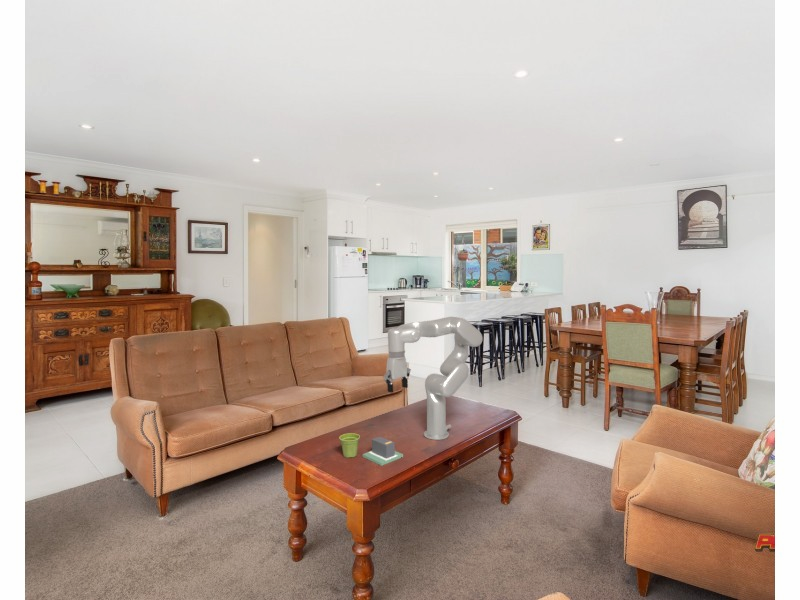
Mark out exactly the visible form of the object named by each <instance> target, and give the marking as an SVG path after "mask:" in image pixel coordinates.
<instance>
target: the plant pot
mask: <svg viewBox="0 0 800 600" xmlns="http://www.w3.org/2000/svg"><path fill="white" fill-rule="evenodd" d="M338 438H339V440H340V444H341V449H342V454H343V457H344V458H347V459H348V458H355V457H357V455H358V448H359V446H358V445H359V441H360V438H361V436H360V434H357V433H354V432H353V433H352V432H350V433H349V432H348V433H343V434H341V435H340V436H339V437H338Z"/></svg>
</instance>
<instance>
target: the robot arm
mask: <svg viewBox="0 0 800 600" xmlns="http://www.w3.org/2000/svg"><path fill="white" fill-rule="evenodd" d="M451 334H452V335H453V334H454V337H453V339H454V348H453V350H452V352H451V353H450V354H449V355H448V356H447V357H446V358H445V359H444V361H443V362H442V363H441V365H440V368H439V372H440V373H441V374H439V373H430V374H428V375H427V377H426V378H425V381H424V388H425V393H426V394H425V395H426V430H425V431H424V432H423V436H424V438H426V439H429V440H433V441H439V440H440V441H441V440H445V439H448V438H449V435H450V433H449V431H448V429H451V428H452V425H451V423H449V424H446V422H447V417H446V416H447V413H446V412H447V411H446V409H447V407H446V406H447V405H446V404H447V400H446V398H449V397H452V396H453V395H455V393H456V392H457V391H458V390H459V388H461V386H462V385H463V384H464V382H465V381H466V380H467V379H468V377H469V373H470V370H469V369H470V368H469V366H468V364H466V362H467V360H468V358H469V356H470V355H469V347H473V348H476V347H479V346H480V345H481V344H482V342H483V341H484V340H483V334H482V333H481V332H480V330H478V329H477V327H475V326H474V325H473V324H472V323H471V322H469V321H468V320H467V319H466V318H463V317H457V316H447V317H442V318H438V319H437V318H436V319H432V320H424V321H416V322H409V323H403V324H400V325H399V326H398V327H393V328H390V329H388V330H387V347H388V350H387V351H388V357H387V360H386V369H385V370H386V371H385V373H384V375H383V376H382V378H383V379H384V382H385V383H386V385H387V392H388V393H391V394H392V393H394V384H393V382H394V381H395V380H398V379H401V387H402V388H406V389H407V388H409V387H408V386H409V385H408V380H409V377H410V375H411V374H410V373H411V368H409V367H408V365H407V364H408V363H407V359H406V356H405V353H406V350H405V343H406V344H411V343H413V344H414V343H417V342H418V341H419V340H420V339H421V337H423V338H438V337H441V336H446V335H451Z"/></svg>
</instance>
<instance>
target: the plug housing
mask: <svg viewBox="0 0 800 600" xmlns="http://www.w3.org/2000/svg"><path fill="white" fill-rule="evenodd" d="M395 444H396V443H395V441H392V440H389V439H387V438H385V437H382V436H377V437H375V438H371V451H372V452H373V453H375V454H377V455H379V456H382V457H384V458H386V459H387V458H390V457H392V456H395V451H396V449H395V448H396V447H395V446H396V445H395Z"/></svg>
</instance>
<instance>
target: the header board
mask: <svg viewBox="0 0 800 600" xmlns="http://www.w3.org/2000/svg"><path fill="white" fill-rule="evenodd" d="M401 457H402V458H403V457H404V454H403V453H401V452H399V451H396V450H395V456H392V457H390V458H387V459H386V458H384V457H382V456H379V455H377V454H375V453H373V452H372V450H370V451H367V452H365V453H362V458H365V459H366V460H369V461H371V462H372V463H375V464H377V465H379V466H381V467H382V466H385V465H388V464H390V463H392V462H394V461H396V460H399V459H401Z"/></svg>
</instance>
